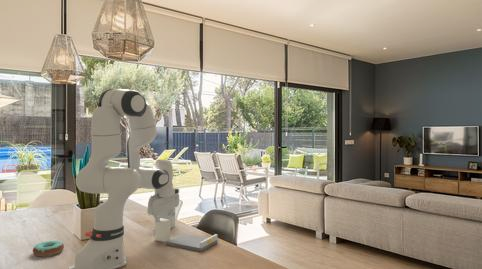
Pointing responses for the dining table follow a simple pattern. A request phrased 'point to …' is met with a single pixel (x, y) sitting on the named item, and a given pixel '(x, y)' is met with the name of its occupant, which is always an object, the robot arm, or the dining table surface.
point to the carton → (162, 230)
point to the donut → (48, 248)
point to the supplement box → (165, 216)
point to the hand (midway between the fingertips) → (163, 219)
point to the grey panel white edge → (192, 242)
